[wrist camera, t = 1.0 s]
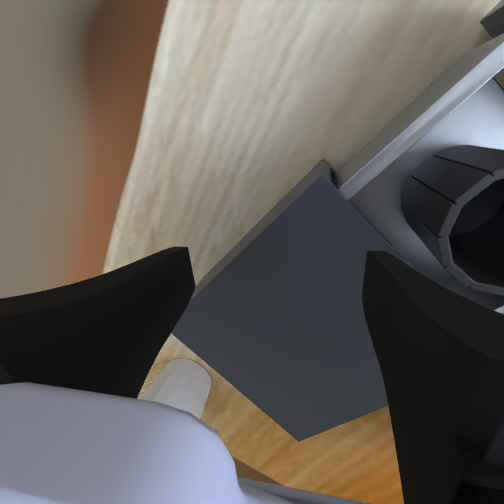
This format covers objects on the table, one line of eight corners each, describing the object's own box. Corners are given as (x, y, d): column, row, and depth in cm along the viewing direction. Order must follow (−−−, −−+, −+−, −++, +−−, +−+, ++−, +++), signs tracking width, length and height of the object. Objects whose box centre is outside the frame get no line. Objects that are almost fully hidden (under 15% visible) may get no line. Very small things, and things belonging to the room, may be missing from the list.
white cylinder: (150, 361, 32) (107, 417, 26) (194, 347, 29) (159, 406, 23) (183, 402, 34) (151, 464, 28) (228, 392, 31) (203, 459, 25)
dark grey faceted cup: (533, 188, 15) (661, 228, 9) (443, 254, 18) (500, 317, 12) (462, 123, 15) (550, 122, 9) (381, 199, 17) (408, 237, 11)
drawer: (532, -31, 13) (651, -119, 8) (676, 162, 14) (847, 181, 9) (299, 195, 19) (290, 217, 15) (413, 309, 21) (438, 362, 16)
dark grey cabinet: (323, 158, 19) (321, 174, 13) (449, 289, 20) (501, 360, 14) (202, 277, 25) (163, 326, 19) (305, 370, 27) (298, 441, 21)
